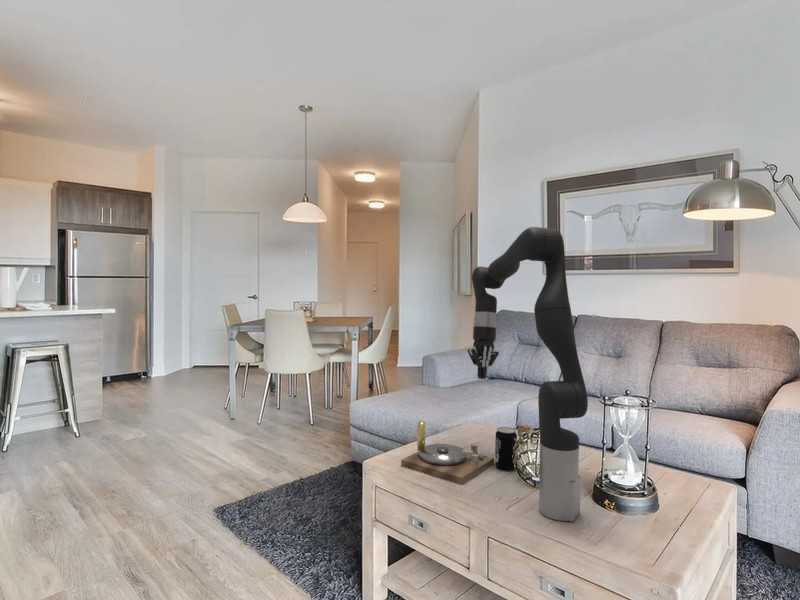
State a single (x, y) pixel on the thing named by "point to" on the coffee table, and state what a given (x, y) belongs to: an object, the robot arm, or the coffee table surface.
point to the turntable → (452, 466)
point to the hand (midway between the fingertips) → (481, 378)
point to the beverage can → (505, 448)
